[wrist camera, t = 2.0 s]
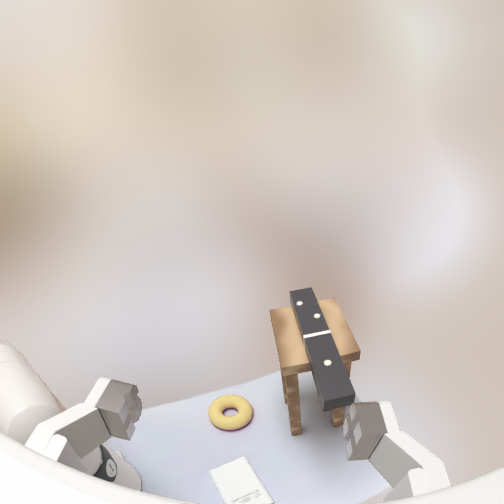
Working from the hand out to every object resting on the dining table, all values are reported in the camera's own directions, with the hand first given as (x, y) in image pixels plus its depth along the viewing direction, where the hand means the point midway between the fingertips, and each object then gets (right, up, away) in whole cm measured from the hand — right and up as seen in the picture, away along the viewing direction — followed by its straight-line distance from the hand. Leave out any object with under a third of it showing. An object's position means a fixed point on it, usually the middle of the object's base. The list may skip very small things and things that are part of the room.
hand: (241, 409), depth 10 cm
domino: (+10, -8, +35) cm, 37 cm away
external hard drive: (-2, -40, +36) cm, 54 cm away
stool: (+14, -29, +50) cm, 60 cm away
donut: (-4, -32, +53) cm, 62 cm away
